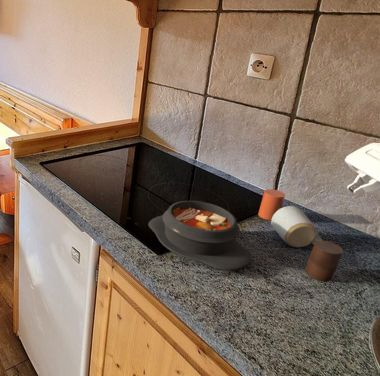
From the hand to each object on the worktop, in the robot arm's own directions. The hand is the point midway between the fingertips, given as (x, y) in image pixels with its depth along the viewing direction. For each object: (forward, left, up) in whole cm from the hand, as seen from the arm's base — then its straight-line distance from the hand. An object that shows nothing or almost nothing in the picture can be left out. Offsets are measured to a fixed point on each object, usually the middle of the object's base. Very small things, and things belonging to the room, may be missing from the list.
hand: (352, 192), depth 93 cm
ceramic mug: (+9, 0, -14) cm, 17 cm away
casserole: (+34, +5, -14) cm, 37 cm away
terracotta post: (+10, -12, -14) cm, 21 cm away
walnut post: (+10, +14, -14) cm, 22 cm away
